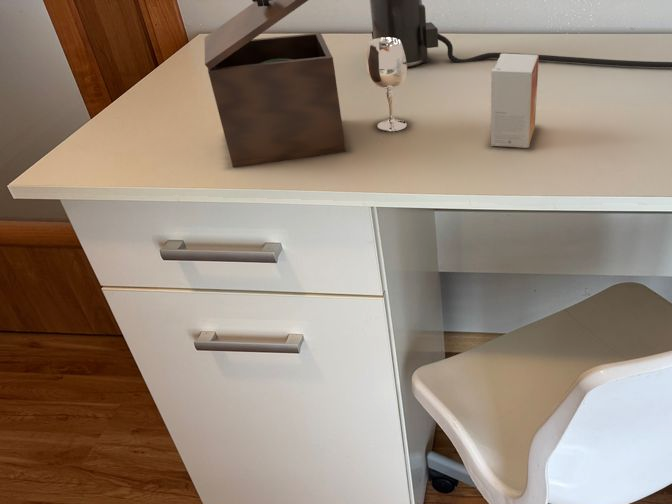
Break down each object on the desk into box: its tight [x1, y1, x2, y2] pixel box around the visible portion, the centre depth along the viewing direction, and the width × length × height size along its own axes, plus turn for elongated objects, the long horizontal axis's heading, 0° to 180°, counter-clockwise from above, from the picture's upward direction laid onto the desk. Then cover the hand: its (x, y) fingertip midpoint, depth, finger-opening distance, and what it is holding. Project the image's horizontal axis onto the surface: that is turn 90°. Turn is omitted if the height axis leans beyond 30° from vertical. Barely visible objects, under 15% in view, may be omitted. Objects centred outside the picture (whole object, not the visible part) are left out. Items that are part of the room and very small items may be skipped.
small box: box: [490, 52, 540, 149], centre depth 95 cm, size 8×6×10 cm
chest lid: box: [204, 0, 309, 70], centre depth 87 cm, size 16×12×1 cm
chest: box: [207, 32, 347, 168], centre depth 94 cm, size 16×12×13 cm
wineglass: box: [365, 37, 408, 132], centre depth 98 cm, size 6×6×12 cm
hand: (263, 4), depth 86 cm, fingers closed
